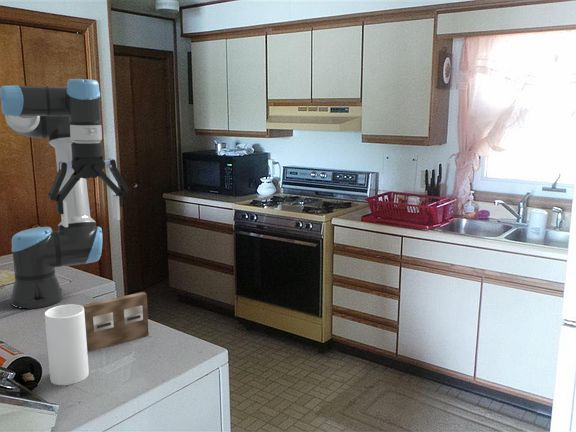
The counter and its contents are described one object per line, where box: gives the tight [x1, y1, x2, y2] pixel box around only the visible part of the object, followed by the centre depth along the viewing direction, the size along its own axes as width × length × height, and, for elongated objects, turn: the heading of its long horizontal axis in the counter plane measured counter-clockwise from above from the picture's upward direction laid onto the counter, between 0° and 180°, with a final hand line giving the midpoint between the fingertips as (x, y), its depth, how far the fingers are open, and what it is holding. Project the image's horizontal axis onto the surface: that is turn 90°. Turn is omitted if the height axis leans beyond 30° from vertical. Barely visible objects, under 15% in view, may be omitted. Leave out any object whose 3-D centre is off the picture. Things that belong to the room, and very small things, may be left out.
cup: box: [44, 304, 90, 386], centre depth 118 cm, size 8×8×16 cm
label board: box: [83, 291, 150, 352], centre depth 138 cm, size 16×8×12 cm, turn 128°
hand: (91, 222), depth 137 cm, fingers open, 13 cm apart
